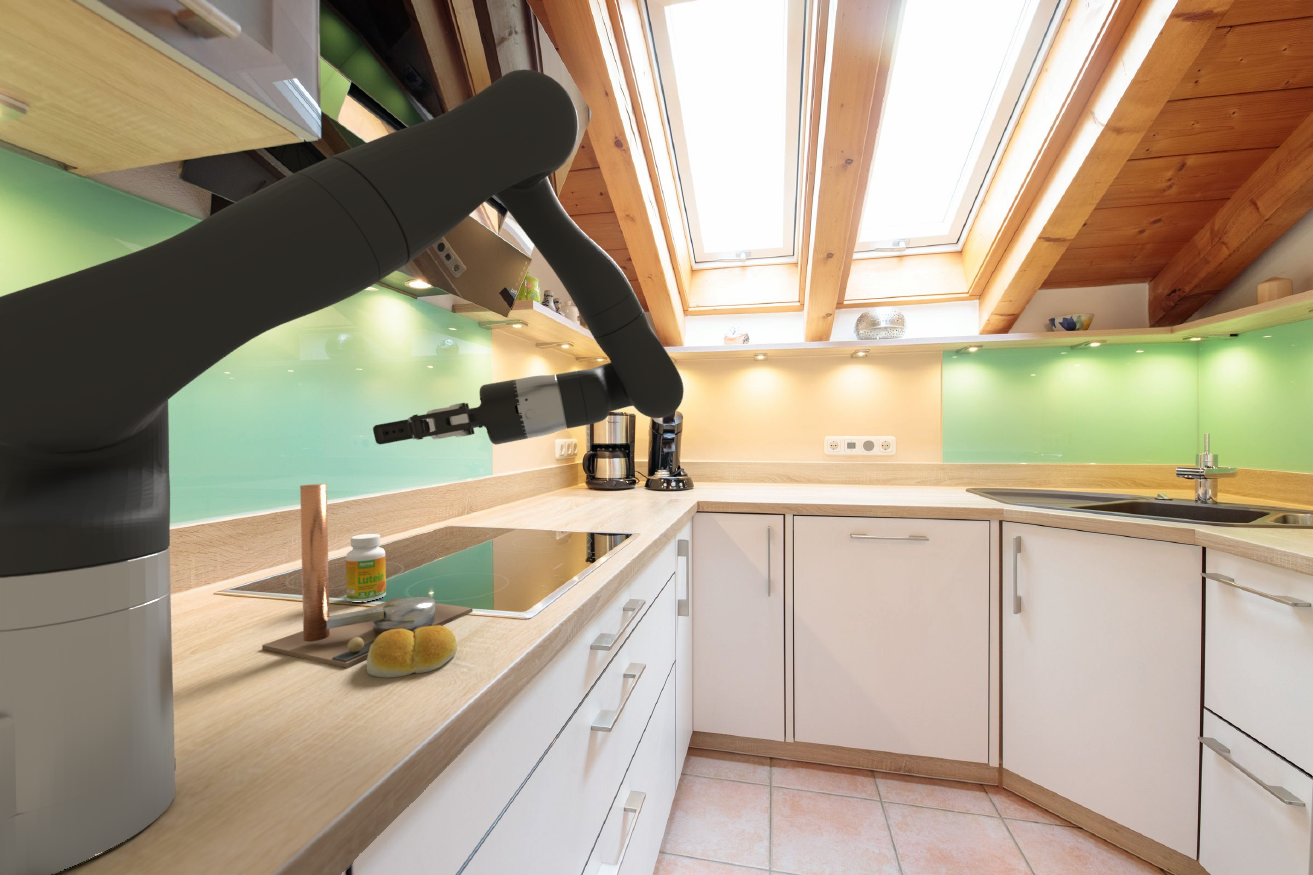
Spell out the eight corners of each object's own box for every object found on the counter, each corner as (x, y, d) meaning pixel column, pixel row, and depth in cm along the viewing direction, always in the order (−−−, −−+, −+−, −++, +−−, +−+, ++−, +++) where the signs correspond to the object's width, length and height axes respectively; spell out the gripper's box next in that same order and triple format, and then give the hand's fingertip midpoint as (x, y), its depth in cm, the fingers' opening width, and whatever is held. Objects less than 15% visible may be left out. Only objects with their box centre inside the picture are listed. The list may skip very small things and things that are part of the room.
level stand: (347, 667, 56) (346, 646, 56) (262, 649, 61) (261, 630, 61) (472, 611, 73) (472, 595, 73) (397, 601, 79) (397, 586, 79)
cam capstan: (430, 611, 71) (428, 476, 71) (439, 625, 65) (436, 479, 65) (304, 634, 63) (301, 483, 63) (302, 652, 58) (298, 487, 58)
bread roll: (459, 669, 56) (458, 632, 56) (363, 687, 52) (363, 647, 52) (455, 641, 63) (454, 609, 63) (371, 655, 60) (370, 621, 59)
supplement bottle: (356, 606, 77) (354, 540, 77) (340, 599, 80) (339, 537, 80) (392, 596, 81) (391, 534, 81) (376, 591, 85) (375, 531, 85)
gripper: (521, 382, 71) (396, 404, 68) (514, 374, 57) (358, 401, 54) (532, 435, 72) (409, 459, 69) (528, 440, 58) (374, 471, 55)
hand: (387, 433), depth 62 cm, fingers open, 8 cm apart
